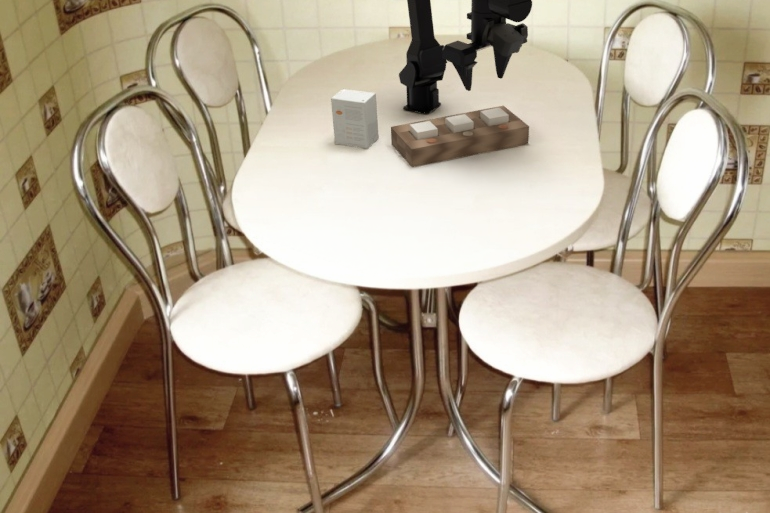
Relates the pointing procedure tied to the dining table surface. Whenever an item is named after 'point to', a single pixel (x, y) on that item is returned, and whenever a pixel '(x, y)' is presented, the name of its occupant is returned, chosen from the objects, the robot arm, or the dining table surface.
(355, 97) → the small box
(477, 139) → the key board
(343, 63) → the dining table surface
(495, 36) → the robot arm
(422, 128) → the key
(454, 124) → the key mid
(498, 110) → the key
